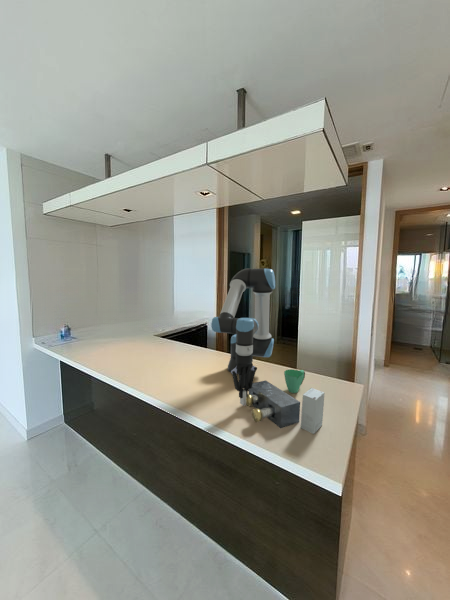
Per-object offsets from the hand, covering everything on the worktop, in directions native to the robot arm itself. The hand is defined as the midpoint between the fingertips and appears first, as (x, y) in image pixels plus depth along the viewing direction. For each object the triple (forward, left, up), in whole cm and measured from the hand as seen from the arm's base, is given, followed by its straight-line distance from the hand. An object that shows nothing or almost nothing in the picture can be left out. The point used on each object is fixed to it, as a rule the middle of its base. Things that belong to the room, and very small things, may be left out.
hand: (243, 403), depth 118 cm
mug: (-6, +37, -4) cm, 37 cm away
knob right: (+12, +4, -1) cm, 13 cm away
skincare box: (+23, +19, -4) cm, 30 cm away
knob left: (0, +8, -1) cm, 8 cm away
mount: (+6, +12, -3) cm, 14 cm away
